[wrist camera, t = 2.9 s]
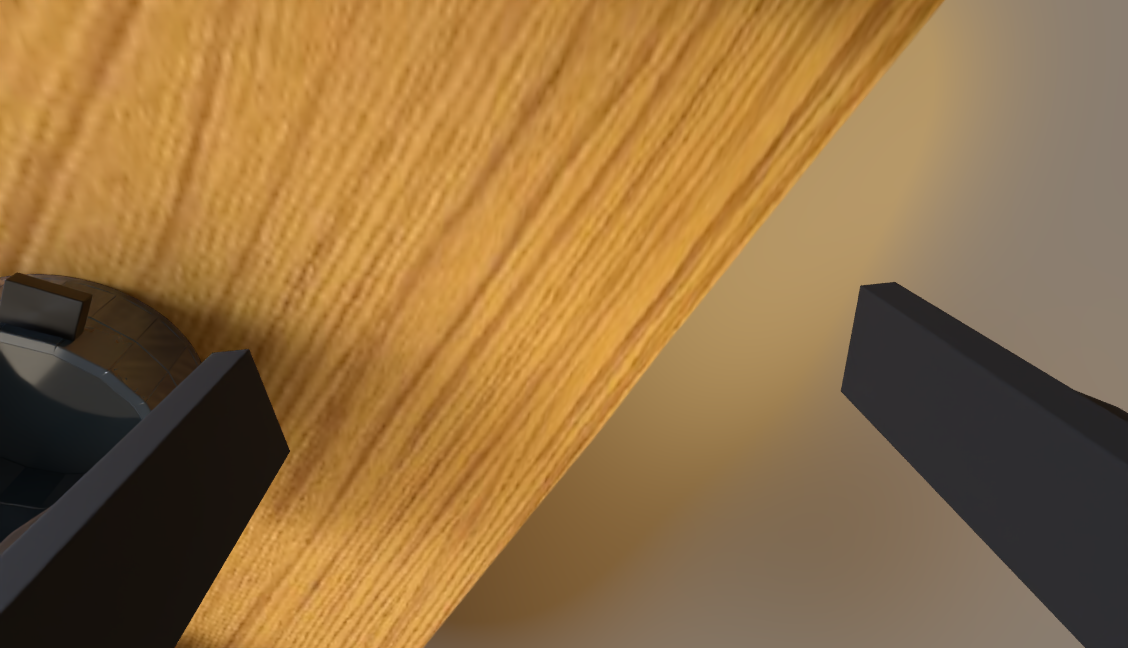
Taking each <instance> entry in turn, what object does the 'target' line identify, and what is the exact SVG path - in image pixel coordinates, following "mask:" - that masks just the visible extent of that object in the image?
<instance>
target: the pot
mask: <svg viewBox="0 0 1128 648" xmlns="http://www.w3.org/2000/svg"><path fill="white" fill-rule="evenodd" d="M27 275H28V276H31V277H35V278H38V279H42V280H45V281H48V282H52V283H55V284H59V285H62V286H66V287H69V288H72V289H76V290H79V291H83V292H86V293H90V294H92V295H93V296H92V300H91V304H90V308H89V312H88V316H87V320H86V324H85V328H84V331H83V333H82V334H81V335H80V336H79V337H78V338H77V339H75V340H74V341H70V340H67V339H64V338H60V337H56V336H53V335H49V334H45V333H41V332H37V331H33V330H29V329H25V328H22V327H18V326H14V325H10V324H5V323H1V322H0V543H1V542H2V541H3V540H4V539H5V538H6V537H7V536H8V535H9V534H11V533H12V532H13V531H15V530H16V529H18V528H19V527H21V526H22V525H24V524H25V523H27V522H28V521H30V520H31V519H33V518H34V517H36V516H37V515H39V514H40V513H42V512H43V511H45V510H46V509H48V508H49V507H51V506H52V505H53V504H54V503H56V502H57V501H58V500H59V499H60V498H61V497H62V496H63V495H64V494H65V493H66V492H67V491H68V490H69V489H70V488H71V487H72V486H73V485H74V484H75V483H76V482H78V481H79V480H80V479H81V478H82V477H83V476H84V475H85V474H86V473H87V472H88V471H89V470H90V469H91V468H92V467H93V466H94V465H95V464H96V463H97V462H98V461H100V460H101V459H102V458H103V457H104V456H105V455H106V454H107V453H108V452H109V451H110V450H111V449H112V448H113V447H114V446H115V445H116V444H117V443H118V442H119V441H120V440H122V439H123V438H124V437H125V436H126V435H127V434H128V433H129V432H130V431H131V430H132V429H133V428H134V427H135V426H136V425H137V424H138V423H139V422H140V421H141V420H142V419H144V418H145V417H146V416H147V415H148V414H149V413H150V412H151V411H152V410H153V409H154V408H155V407H156V406H157V405H158V404H159V403H160V402H161V401H162V400H163V399H165V398H166V397H167V396H168V395H169V394H170V393H171V392H172V391H173V390H174V389H175V388H176V387H177V386H178V385H179V384H180V383H181V382H182V381H183V380H184V379H185V378H187V377H188V376H189V375H190V374H191V373H192V372H193V371H194V370H195V369H196V368H197V367H198V366H199V365H200V364H201V361H200V359H199V357H198V355H197V353H196V351H195V350H194V348H193V347H192V345H191V344H190V342H189V341H188V340H187V338H186V337H185V336H184V335H183V334H182V333H181V332H180V330H179V329H178V328H177V327H175V326H174V325H173V324H172V323H171V322H170V321H169V320H168V319H167V318H165V317H164V316H163V315H161V314H160V313H158V312H157V311H156V310H154V309H153V308H151V307H150V306H148V305H146V304H145V303H143V302H141V301H139V300H138V299H136V298H134V297H132V296H129V295H127V294H125V293H123V292H121V291H119V290H116V289H113V288H110V287H107V286H104V285H102V284H99V283H95V282H91V281H87V280H83V279H78V278H72V277H66V276H59V275H44V274H27ZM9 277H10V276H6V277H0V302H1V297H2V292H3V287H4V282H5V279H7V278H9Z"/></svg>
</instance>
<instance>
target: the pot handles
mask: <svg viewBox="0 0 1128 648" xmlns="http://www.w3.org/2000/svg"><path fill="white" fill-rule="evenodd" d="M92 296H93V295H92V294H90V293H86V292H83V291H79V290H76V289H72V288H69V287H66V286H62V285H59V284H55V283H52V282H48V281H45V280H42V279H38V278H35V277H31V276H28V275H25V274H21V273H16V274H14V275H12V276H10V277H9V278H7V279H5V282H4V287H3V292H2V297H1V302H0V322H1V323H5V324H10V325H14V326H18V327H22V328H25V329H29V330H33V331H37V332H41V333H45V334H49V335H53V336H56V337H60V338H64V339H67V340H70V341H74V340H75V339H77V338H78V337H79V336H80V335H81V334H82V333H83V331H84V328H85V324H86V320H87V316H88V312H89V308H90V304H91V300H92Z"/></svg>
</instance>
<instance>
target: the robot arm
mask: <svg viewBox="0 0 1128 648" xmlns="http://www.w3.org/2000/svg"><path fill="white" fill-rule="evenodd" d="M841 392H842V393H843V394H844V395H845V396H846V397H847V398H848V399H849V400H850V401H851V402H852V404H854V406H855V407H856V408H857V409H858V410H859V411H860V412H861V413H862V414H863V415H864V416H865V417H866V418H867V419H868V420H869V421H870V422H871V423H872V424H873V426H874V427H875V428H876V429H877V430H878V431H879V432H880V433H881V434H882V435H883V436H884V437H885V438H886V439H887V440H888V441H889V442H890V443H891V444H892V446H893V447H895V449H896V450H897V451H898V452H899V453H900V454H901V455H902V456H903V457H904V458H905V459H906V460H907V461H908V462H909V463H910V464H911V465H912V467H914V468H915V470H916V471H917V472H918V473H919V474H920V475H921V476H922V477H923V478H924V479H925V480H926V481H927V482H928V483H929V484H930V485H931V486H932V487H933V488H934V489H935V491H936V492H937V493H938V494H939V495H940V496H941V497H942V498H943V499H944V500H945V501H946V502H947V503H948V504H949V505H950V506H951V507H952V508H953V510H954V511H955V512H956V513H957V514H958V515H959V516H960V517H961V518H962V519H963V520H964V521H965V522H966V523H967V524H968V525H969V526H970V527H971V528H972V529H973V530H974V532H975V533H976V534H977V535H978V536H979V537H980V538H981V539H982V540H983V541H984V542H985V543H986V544H987V545H988V546H989V547H990V548H991V549H992V550H993V551H994V553H995V554H996V555H997V556H998V557H999V558H1000V559H1001V560H1002V561H1003V562H1004V563H1005V564H1006V565H1007V566H1008V567H1009V568H1010V569H1011V570H1012V571H1013V572H1014V573H1015V574H1016V575H1017V577H1018V578H1019V579H1020V580H1021V581H1022V582H1023V583H1024V584H1025V585H1026V586H1027V587H1028V588H1029V589H1030V590H1031V591H1032V592H1033V593H1034V594H1035V596H1036V597H1037V598H1038V599H1039V600H1040V601H1041V602H1042V603H1043V604H1044V605H1045V606H1046V607H1047V608H1048V609H1049V610H1050V611H1051V612H1052V613H1053V614H1054V615H1055V617H1056V618H1057V619H1058V620H1059V621H1060V622H1061V623H1062V624H1063V625H1064V626H1065V627H1066V628H1067V629H1068V630H1069V631H1070V632H1071V633H1072V634H1073V635H1074V636H1075V638H1076V639H1077V640H1078V641H1079V642H1080V643H1081V644H1082V645H1083V646H1084V647H1085V648H1128V413H1127V412H1125V411H1123V410H1121V409H1120V408H1118V407H1116V406H1113V405H1111V404H1108V403H1106V402H1103V401H1101V400H1098V399H1096V398H1093V397H1091V396H1088V395H1085V394H1083V393H1080V392H1077V391H1075V390H1073V389H1071V388H1070V387H1068V386H1067V385H1065V384H1063V383H1062V382H1060V381H1058V380H1057V379H1055V378H1053V377H1052V376H1050V375H1048V374H1047V373H1045V372H1043V371H1042V370H1040V369H1038V368H1037V367H1035V366H1033V365H1032V364H1030V363H1028V362H1027V361H1025V360H1023V359H1022V358H1020V357H1018V356H1017V355H1015V354H1013V353H1012V352H1010V351H1009V350H1007V349H1005V348H1003V347H1002V346H1000V345H999V344H997V343H995V342H994V341H992V340H990V339H989V338H987V337H985V336H983V335H982V334H980V333H979V332H977V331H975V330H974V329H972V328H970V327H969V326H967V325H965V324H964V323H962V322H960V321H959V320H957V319H955V318H954V317H952V316H950V315H949V314H947V313H946V312H944V311H942V310H941V309H939V308H937V307H935V306H934V305H932V304H931V303H929V302H927V301H926V300H924V299H922V298H921V297H919V296H917V295H916V294H914V293H912V292H911V291H909V290H907V289H906V288H904V287H902V286H901V285H899V284H897V283H896V282H890V283H881V284H873V285H872V284H871V285H863V286H862V285H861V286H860V291H859V296H858V302H857V307H856V312H855V318H854V323H853V329H852V334H851V339H850V345H849V350H848V356H847V361H846V366H845V372H844V377H843V383H842V388H841ZM289 452H290V450H289V447H288V445H287V442H286V440H285V437H284V435H283V432H282V430H281V427H280V425H279V422H278V420H277V417H276V415H275V412H274V410H273V407H272V405H271V402H270V400H269V397H268V395H267V392H266V390H265V387H264V385H263V382H262V380H261V377H260V375H259V372H258V370H257V367H256V365H255V362H254V360H253V357H252V355H251V352H250V350H249V349H245V350H235V351H225V352H216V353H212V354H211V355H210V356H209V357H207V358H206V359H205V360H204V361H203V362H202V363H201V364H200V365H199V366H198V367H197V368H196V369H195V370H194V371H193V372H192V373H191V374H190V375H189V376H188V377H187V378H185V379H184V380H183V381H182V382H181V383H180V384H179V385H178V386H177V387H176V388H175V389H174V390H173V391H172V392H171V393H170V394H169V395H168V396H167V397H166V398H165V399H163V400H162V401H161V402H160V403H159V404H158V405H157V406H156V407H155V408H154V409H153V410H152V411H151V412H150V413H149V414H148V415H147V416H146V417H145V418H144V419H142V420H141V421H140V422H139V423H138V424H137V425H136V426H135V427H134V428H133V429H132V430H131V431H130V432H129V433H128V434H127V435H126V436H125V437H124V438H123V439H122V440H120V441H119V442H118V443H117V444H116V445H115V446H114V447H113V448H112V449H111V450H110V451H109V452H108V453H107V454H106V455H105V456H104V457H103V458H102V459H101V460H100V461H98V462H97V463H96V464H95V465H94V466H93V467H92V468H91V469H90V470H89V471H88V472H87V473H86V474H85V475H84V476H83V477H82V478H81V479H80V480H79V481H78V482H76V483H75V484H74V485H73V486H72V487H71V488H70V489H69V490H68V491H67V492H66V493H65V494H64V495H63V496H62V497H61V498H60V499H59V500H58V501H57V502H56V503H54V504H53V505H52V506H51V507H49V508H48V509H46V510H45V511H43V512H42V513H40V514H39V515H37V516H36V517H34V518H33V519H31V520H30V521H28V522H27V523H25V524H24V525H22V526H21V527H19V528H18V529H16V530H15V531H13V532H12V533H11V534H9V535H8V536H7V537H6V538H5V539H4V540H3V541H2V542H1V543H0V648H175V646H176V644H177V643H178V641H179V639H180V638H181V636H182V634H183V633H184V631H185V629H186V627H187V626H188V624H189V622H190V621H191V619H192V617H193V616H194V614H195V612H196V610H197V609H198V607H199V605H200V604H201V602H202V600H203V599H204V597H205V595H206V593H207V592H208V590H209V588H210V587H211V585H212V583H213V582H214V580H215V578H216V576H217V575H218V573H219V571H220V570H221V568H222V566H223V565H224V563H225V561H226V559H227V558H228V556H229V554H230V553H231V551H232V549H233V548H234V546H235V544H236V543H237V541H238V539H239V537H240V536H241V534H242V532H243V531H244V529H245V527H246V526H247V524H248V522H249V520H250V519H251V517H252V515H253V514H254V512H255V510H256V509H257V507H258V505H259V503H260V502H261V500H262V498H263V497H264V495H265V493H266V492H267V490H268V488H269V486H270V485H271V483H272V481H273V480H274V478H275V476H276V475H277V473H278V471H279V469H280V468H281V466H282V464H283V463H284V461H285V459H286V458H287V456H288V454H289Z"/></svg>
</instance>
